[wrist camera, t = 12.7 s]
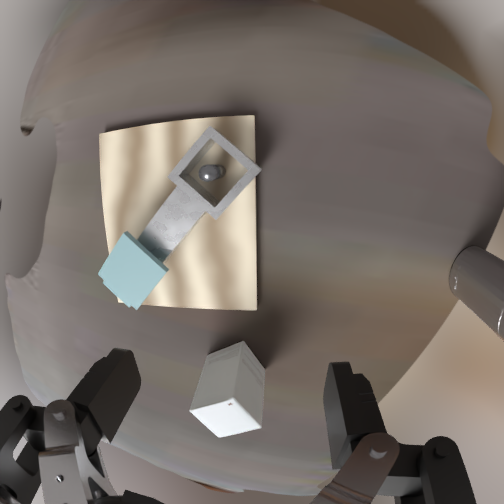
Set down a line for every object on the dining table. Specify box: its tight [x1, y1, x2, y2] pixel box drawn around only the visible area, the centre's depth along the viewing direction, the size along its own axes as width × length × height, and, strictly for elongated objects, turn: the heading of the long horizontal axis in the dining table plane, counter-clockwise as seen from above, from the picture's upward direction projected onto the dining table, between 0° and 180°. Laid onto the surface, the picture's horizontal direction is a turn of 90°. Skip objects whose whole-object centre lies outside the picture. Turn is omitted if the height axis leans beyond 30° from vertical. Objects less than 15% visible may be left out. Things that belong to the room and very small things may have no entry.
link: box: [137, 126, 262, 264], centre depth 34 cm, size 19×8×4 cm, turn 138°
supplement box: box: [189, 341, 265, 437], centre depth 38 cm, size 7×7×13 cm
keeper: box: [98, 231, 169, 310], centre depth 36 cm, size 9×7×7 cm
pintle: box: [199, 164, 226, 182], centre depth 32 cm, size 2×2×8 cm
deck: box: [99, 115, 257, 310], centre depth 37 cm, size 22×26×1 cm
